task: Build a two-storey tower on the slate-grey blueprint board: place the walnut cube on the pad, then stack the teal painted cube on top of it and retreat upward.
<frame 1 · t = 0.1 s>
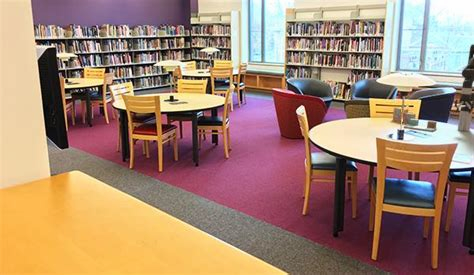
hand: (463, 112, 344), 17 cm above the table, tool pointing down, fingers open, 8 cm apart
blueprint board: (419, 128, 362), on the table
teal block: (413, 125, 375), on the table
walnut block: (431, 128, 366), on the table
stack of blocks: (403, 122, 392), on the table
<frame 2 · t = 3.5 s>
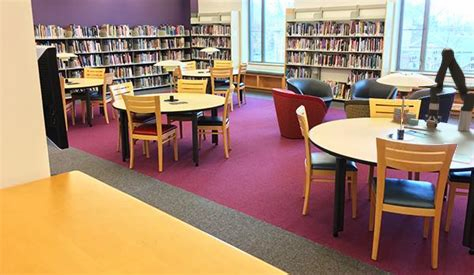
hand: (431, 127, 365), 1 cm above the table, tool pointing down, fingers closed on walnut block, 6 cm apart
walnut block: (431, 128, 366), on the table, touching gripper
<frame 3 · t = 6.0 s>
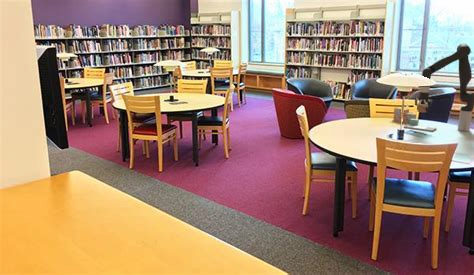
hand: (422, 110, 358), 16 cm above the table, tool pointing down, fingers closed on walnut block, 6 cm apart
walnut block: (422, 111, 358), point 15 cm above the table, touching gripper
when the fingers open (4 cm above the table, at t = 8.8 s): walnut block drops 1 cm, resting on blueprint board.
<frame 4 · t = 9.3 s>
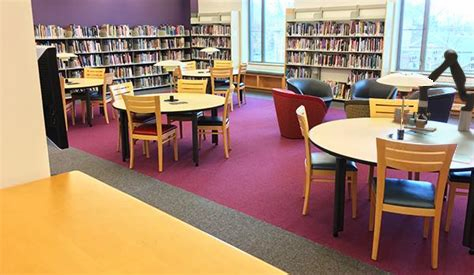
hand: (420, 124, 361), 4 cm above the table, tool pointing down, fingers open, 8 cm apart
walnut block: (420, 127, 362), point 1 cm above the table, touching blueprint board
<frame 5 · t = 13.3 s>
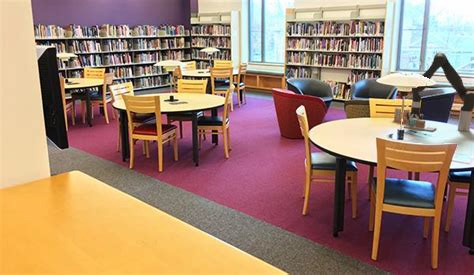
hand: (413, 124, 374), 1 cm above the table, tool pointing down, fingers closed on teal block, 6 cm apart
teal block: (413, 125, 375), on the table, touching gripper
when the fingers open (9 cm above the table, at t = 19.2 s): teal block stays where it is, resting on walnut block.
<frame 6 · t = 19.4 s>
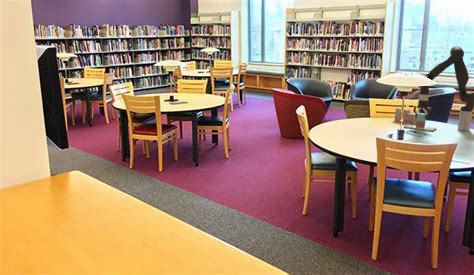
hand: (421, 118, 360), 9 cm above the table, tool pointing down, fingers open, 7 cm apart
teal block: (421, 120, 360), point 7 cm above the table, touching walnut block
walnut block: (420, 127, 362), point 1 cm above the table, touching blueprint board, teal block
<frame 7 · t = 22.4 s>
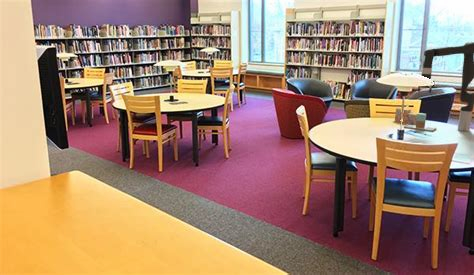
hand: (424, 92, 355), 32 cm above the table, tool pointing down, fingers open, 8 cm apart
at the end: walnut block inside the target area on the blueprint board (0.0 cm from its centre), point 1.3 cm above the blueprint board's base; teal block 0.0 cm off-centre on the walnut block, point 6.0 cm above the walnut block's base; the gripper is holding nothing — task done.
